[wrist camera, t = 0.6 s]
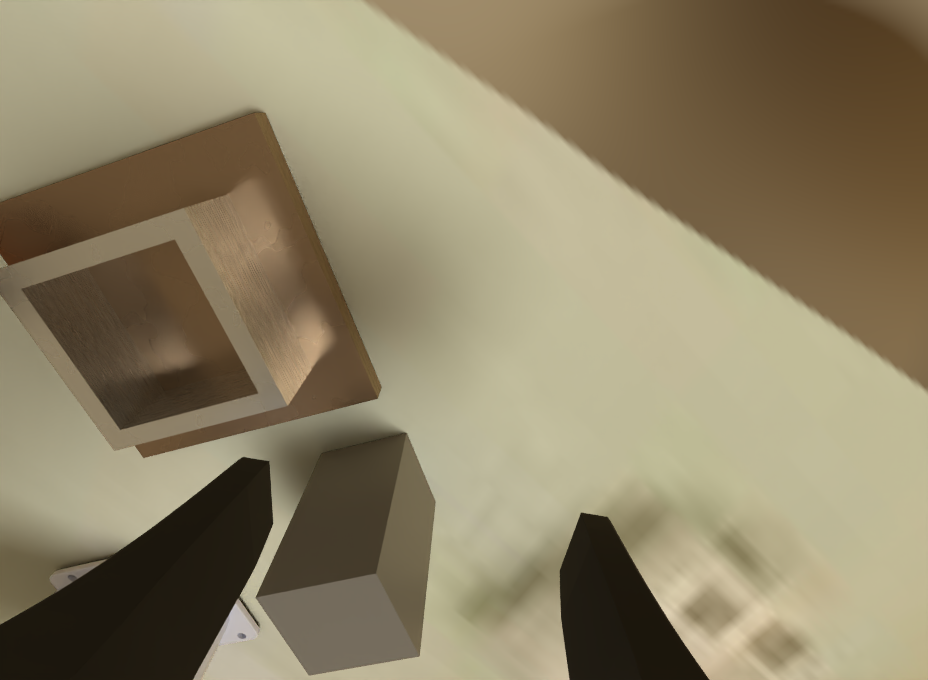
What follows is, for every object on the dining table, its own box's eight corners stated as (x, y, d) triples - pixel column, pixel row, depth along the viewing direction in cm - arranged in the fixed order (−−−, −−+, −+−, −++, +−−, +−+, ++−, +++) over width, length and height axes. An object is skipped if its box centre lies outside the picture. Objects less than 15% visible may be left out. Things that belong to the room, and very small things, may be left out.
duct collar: (156, 445, 24) (99, 503, 21) (-6, 208, 19) (-116, 229, 16) (381, 387, 22) (363, 439, 19) (265, 112, 18) (211, 112, 14)
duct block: (355, 519, 26) (309, 675, 19) (321, 453, 24) (255, 597, 17) (435, 501, 25) (419, 656, 18) (406, 432, 24) (376, 573, 16)
